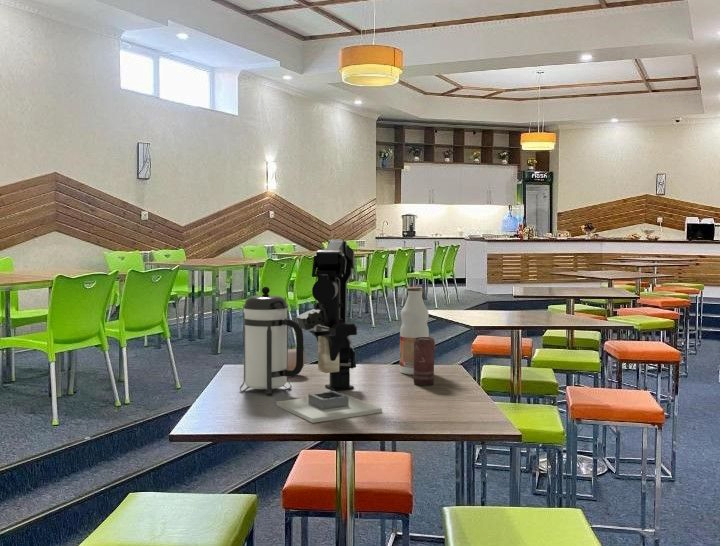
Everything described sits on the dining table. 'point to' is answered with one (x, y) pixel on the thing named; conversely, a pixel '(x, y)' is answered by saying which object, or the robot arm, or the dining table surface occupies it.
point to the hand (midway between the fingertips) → (328, 359)
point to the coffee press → (268, 343)
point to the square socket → (328, 400)
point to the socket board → (319, 415)
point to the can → (424, 361)
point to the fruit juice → (412, 327)
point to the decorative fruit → (293, 358)
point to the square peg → (326, 357)
